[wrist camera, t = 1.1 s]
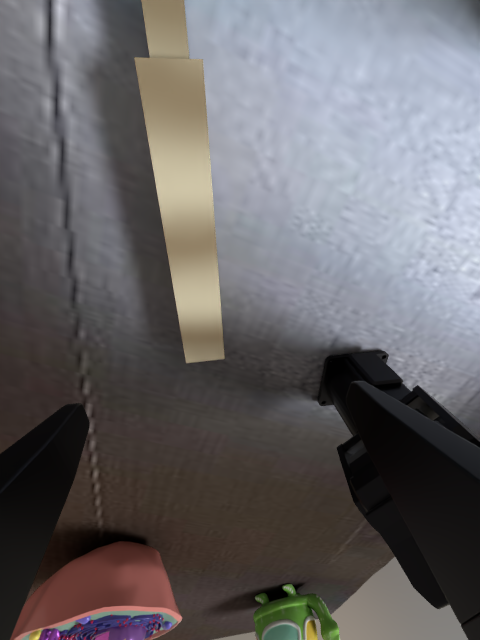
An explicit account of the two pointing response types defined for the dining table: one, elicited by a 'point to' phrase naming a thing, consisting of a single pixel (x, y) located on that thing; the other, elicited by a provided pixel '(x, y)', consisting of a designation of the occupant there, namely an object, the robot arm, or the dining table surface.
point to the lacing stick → (182, 174)
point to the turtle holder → (293, 617)
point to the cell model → (103, 598)
